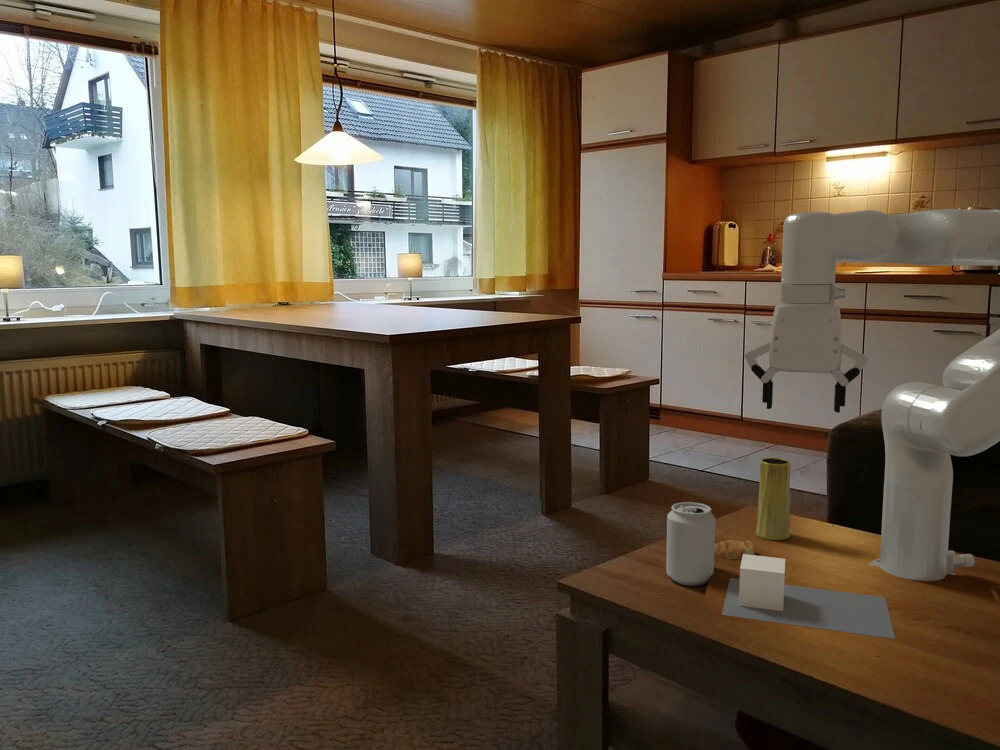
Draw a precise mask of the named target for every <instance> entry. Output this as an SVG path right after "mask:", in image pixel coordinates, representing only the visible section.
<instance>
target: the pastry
mask: <svg viewBox="0 0 1000 750" xmlns="http://www.w3.org/2000/svg"><path fill="white" fill-rule="evenodd" d="M743 554H747V555H755V551H754V544H753V541H750V540H746V541H739V540H731V539H727V540H725V541H719V542H717V543H715V549H714V563H715V561H716V559H717V558H719V559H726V560H738V561H739V560H741V561H742V556H743Z"/></svg>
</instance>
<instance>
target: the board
mask: <svg viewBox="0 0 1000 750" xmlns="http://www.w3.org/2000/svg"><path fill="white" fill-rule="evenodd" d="M739 587H740V578H734V577H731V578H730V577H729V581H728V586H727V590H726V594H725V599H724V604H723V607H722V611H721V616H725V617H733V618H740V619H746V620H747V619H748V620H755V621H763V622H770V623H777V624H784V625H791V626H797V627H805V628H811V629H818V630H826V631H827V630H828V631H833V632H834V631H835V632H839V633H840V632H841V633H847V634H856V635H862V636H863V635H864V636H868V637H869V636H870V637H875V638H876V637H877V638H883V639H890V640H891V639H892V640H896V635H895V631H894V628H893V623H892V619H891V616H890V615H891V614H890V611H889V607H888V604H887V600H886V597H885V596H878V595H870V594H862V593H855V592H854V593H852V592H846V591H845V592H844V591H838V590H831V589H822V588H814V587H813V588H812V587H806V586H797V585H789V584H784V602H783V611H777V610H770V609H762V608H755V607H747V606H740V605H739Z"/></svg>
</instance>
